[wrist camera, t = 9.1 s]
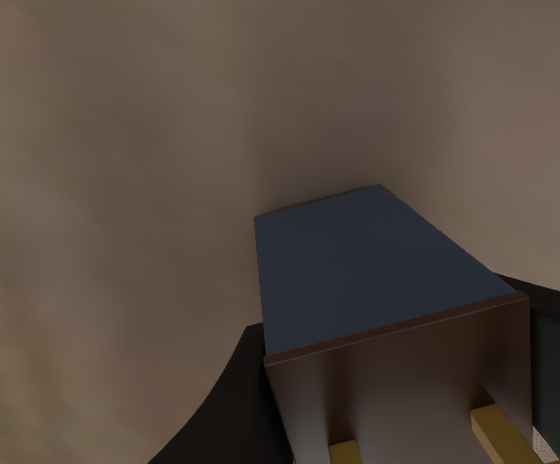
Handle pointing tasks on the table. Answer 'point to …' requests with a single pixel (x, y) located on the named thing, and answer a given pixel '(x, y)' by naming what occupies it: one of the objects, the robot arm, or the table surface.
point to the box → (390, 338)
